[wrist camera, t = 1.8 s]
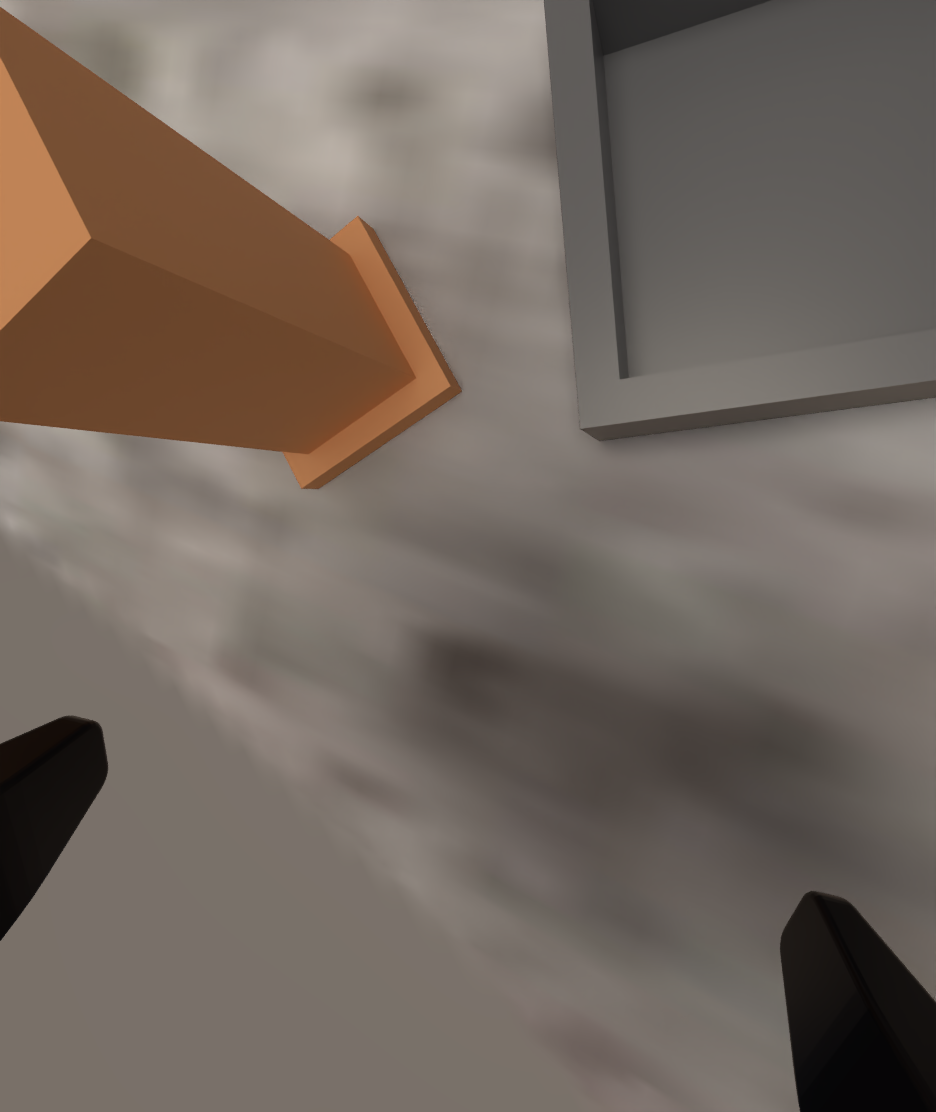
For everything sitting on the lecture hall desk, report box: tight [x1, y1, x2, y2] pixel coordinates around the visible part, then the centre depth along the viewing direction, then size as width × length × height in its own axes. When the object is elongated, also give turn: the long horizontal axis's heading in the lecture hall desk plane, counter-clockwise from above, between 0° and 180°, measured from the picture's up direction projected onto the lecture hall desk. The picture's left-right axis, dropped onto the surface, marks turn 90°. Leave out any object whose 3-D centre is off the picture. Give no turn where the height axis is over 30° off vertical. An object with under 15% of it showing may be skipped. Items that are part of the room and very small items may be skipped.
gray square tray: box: [544, 0, 936, 441], centre depth 15 cm, size 11×11×4 cm
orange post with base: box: [0, 7, 462, 489], centre depth 15 cm, size 6×6×12 cm
